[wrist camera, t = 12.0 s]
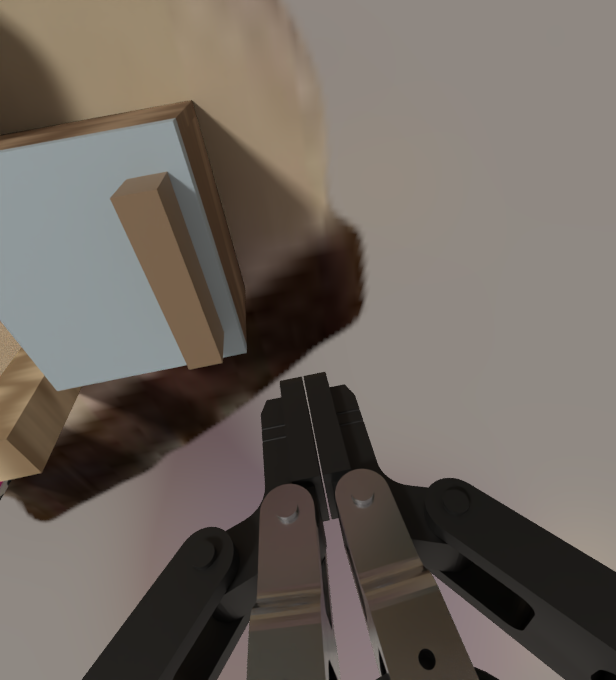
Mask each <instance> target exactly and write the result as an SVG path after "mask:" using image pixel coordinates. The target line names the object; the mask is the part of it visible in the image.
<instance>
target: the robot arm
mask: <svg viewBox="0 0 616 680" xmlns="http://www.w3.org/2000/svg"><path fill="white" fill-rule="evenodd" d="M304 381H305V387H306V392H307V397H308V402H309V407H310V412H311V417H312V423H313V428H314V433H315V438H316V443H317V448H318V454H319V459H320V464H321V469H322V474H323V479H324V483H325V488H326V493H327V498H328V503H329V507H330V512H331V517H332V519H336V518H339V522H340V527H341V531H342V536H343V541H344V547H345V550H346V554H347V557H348V561H349V565H350V568H351V572H352V575H353V579H354V582H355V586H356V589H357V593H358V596H359V600H360V603H361V607H362V610H363V614H364V617H365V621H366V625H367V628H368V632H369V637H370V641H371V645H372V648H373V652H374V656H375V659H376V663H377V666H378V670H379V673H380V677H379V678H378V679H376V680H499V679H497V678H495V677H494V676H492V675H490V674H488V673H487V672H485V671H483V670H480V669H478V668H476V667H473V664H472V662H471V660H470V658H469V655H468V653H467V651H466V649H465V646H464V644H463V642H462V639H461V637H460V635H459V633H458V630H457V628H456V626H455V624H454V621H453V619H452V617H451V614H450V612H449V610H448V608H447V605H446V603H445V601H444V599H443V596H442V594H441V592H440V590H439V587H438V585H437V583H436V581H435V579H434V577H433V576H432V574H433V575H435V576H436V577H437V578H438V579H440V580H441V581H442V582H443V583H445V584H446V585H447V586H448V587H450V588H451V589H452V590H453V591H455V592H456V593H457V594H458V595H460V596H461V597H462V598H464V599H465V600H466V601H467V602H468V603H470V604H471V605H472V606H474V607H475V608H476V609H477V610H479V611H480V612H481V613H482V614H483V615H485V616H486V617H487V618H488V619H490V620H491V621H492V622H493V623H495V624H496V625H497V626H499V627H500V628H501V629H502V630H504V631H505V632H506V633H507V634H509V635H510V636H511V637H512V638H514V639H515V640H516V641H517V642H519V643H520V644H521V645H522V646H524V647H525V648H526V649H527V650H529V651H530V652H531V653H532V654H534V655H535V656H536V657H537V658H539V659H540V660H541V661H542V662H544V663H545V664H546V665H547V666H549V667H550V668H551V669H552V670H554V671H555V672H556V673H557V674H559V675H560V676H561V677H562V678H564V679H565V680H616V572H615V571H613V570H611V569H610V568H608V567H607V566H605V565H603V564H602V563H600V562H598V561H597V560H595V559H593V558H592V557H590V556H588V555H587V554H585V553H583V552H582V551H580V550H578V549H577V548H575V547H573V546H572V545H570V544H568V543H567V542H565V541H563V540H562V539H560V538H558V537H557V536H555V535H553V534H552V533H550V532H548V531H547V530H545V529H543V528H542V527H540V526H538V525H537V524H535V523H533V522H532V521H530V520H528V519H527V518H525V517H523V516H522V515H520V514H518V513H517V512H515V511H514V510H512V509H510V508H509V507H507V506H505V505H504V504H502V503H500V502H498V501H497V500H495V499H494V498H492V497H490V496H489V495H487V494H485V493H484V492H482V491H480V490H479V489H477V488H475V487H474V486H472V485H470V484H469V483H467V482H464V481H462V480H459V479H455V478H444V479H440V480H438V481H436V482H434V483H433V484H431V486H430V487H429V488H427V487H418V486H409V485H403V484H400V483H397V482H395V481H393V480H391V479H390V478H388V477H387V476H386V475H385V474H384V473H383V472H382V471H381V469H380V467H379V466H378V463H377V460H376V457H375V455H374V451H373V448H372V445H371V442H370V439H369V436H368V433H367V431H366V427H365V424H364V422H363V418H362V415H361V412H360V410H359V406H358V403H357V400H356V397H355V395H354V394H353V393H352V392H351V391H350V390H349V389H348V388H347V386H346V385H340V386H334V387H329V384H328V381H327V376H326V373H325V372H322V373H317V374H312V375H307V376H304ZM280 388H281V398H276V399H272V400H267V401H266V403H265V406H264V408H263V411H262V413H261V423H262V440H263V459H264V476H265V493H264V497H263V500H262V502H261V504H260V506H259V507H258V509H257V510H256V511H255V512H254V513H253V514H252V515H251V516H250V517H249V518H247V519H246V520H244V521H242V522H241V523H239V524H237V525H235V526H234V527H232V528H230V529H228V530H227V531H224V530H222V529H220V528H217V527H207V528H204V529H201V530H199V531H197V532H195V533H194V534H192V535H191V536H190V537H189V538H188V539H187V540H186V541H185V542H184V543H183V545H182V546H181V548H180V549H179V550H178V552H177V553H176V554H175V555H174V557H173V558H172V560H171V561H170V562H169V564H168V565H167V566H166V568H165V569H164V570H163V572H162V573H161V574H160V576H159V577H158V578H157V580H156V581H155V582H154V584H153V585H152V586H151V588H150V589H149V590H148V592H147V593H146V595H145V596H144V597H143V598H142V600H141V601H140V602H139V604H138V605H137V607H136V608H135V609H134V610H133V612H132V613H131V615H130V616H129V617H128V618H127V620H126V621H125V623H124V624H123V625H122V626H121V628H120V629H119V631H118V632H117V633H116V634H115V636H114V637H113V639H112V640H111V641H110V643H109V644H108V645H107V647H106V648H105V649H104V651H103V652H102V653H101V655H100V656H99V657H98V659H97V660H96V661H95V663H94V664H93V665H92V667H91V668H90V669H89V671H88V672H87V673H86V675H85V676H84V677H83V679H82V680H217V679H218V677H219V675H220V673H221V671H222V669H223V668H224V666H225V664H226V662H227V661H228V659H229V657H230V655H231V653H232V651H233V650H234V648H235V646H236V644H237V642H238V641H239V639H240V637H241V635H242V634H243V632H244V630H245V628H246V626H247V624H248V623H249V636H248V637H249V638H248V659H247V680H340V671H339V662H338V653H337V646H336V639H335V633H334V625H333V615H332V606H331V595H330V585H329V575H328V564H327V554H326V547H327V545H326V537H325V532H324V526H323V521H328V520H329V514H328V509H327V503H326V498H325V493H324V488H323V483H322V477H321V472H320V466H319V461H318V456H317V451H316V445H315V440H314V435H313V430H312V424H311V419H310V414H309V409H308V405H307V400H306V395H305V390H304V386H303V381H302V377H298V378H292V379H287V380H283V381H280ZM431 573H432V574H431ZM249 621H250V622H249Z"/></svg>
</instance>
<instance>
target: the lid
mask: <svg viewBox="0 0 616 680" xmlns="http://www.w3.org/2000/svg"><path fill="white" fill-rule="evenodd" d="M0 321H1V322H2V323H3V325H4V326H5V327H6V328H7V329H8V331H9V332H10V333H11V334H12V336H13V337H14V338H15V339H16V341H17V342H18V343H19V344H20V346H21V347H22V348H23V349H24V351H25V352H26V353H27V354H28V356H29V357H30V358H31V359H32V361H33V362H34V363H35V364H36V366H37V367H38V368H39V369H40V371H41V372H42V373H43V374H44V376H45V377H46V378H47V379H48V381H49V382H50V383H51V384H52V385H53V387H54V388H55V389H56V390H57V391H61V390H66V389H71V388H75V387H80V386H85V385H90V384H95V383H100V382H105V381H110V380H115V379H120V378H125V377H130V376H135V375H140V374H145V373H150V372H154V371H159V370H164V369H169V368H174V367H179V366H184V365H187V366H188V368H189V370H190V369H195V368H200V367H205V366H210V365H215V364H220V363H223V358H224V357H229V356H233V355H238V354H243V353H247V344H246V341H245V338H244V334H243V331H242V328H241V325H240V322H239V318H238V315H237V312H236V309H235V306H234V302H233V299H232V296H231V293H230V290H229V287H228V283H227V280H226V277H225V274H224V271H223V267H222V264H221V261H220V258H219V255H218V251H217V248H216V245H215V242H214V239H213V236H212V232H211V229H210V226H209V223H208V220H207V216H206V213H205V210H204V207H203V204H202V200H201V197H200V194H199V191H198V188H197V185H196V181H195V178H194V175H193V172H192V169H191V165H190V162H189V159H188V156H187V153H186V150H185V146H184V143H183V140H182V137H181V134H180V130H179V127H178V124H177V121H176V118H173V119H167V120H162V121H156V122H151V123H146V124H140V125H135V126H129V127H124V128H118V129H113V130H108V131H102V132H97V133H91V134H86V135H80V136H75V137H70V138H64V139H59V140H53V141H48V142H42V143H37V144H32V145H26V146H21V147H15V148H10V149H4V150H0Z"/></svg>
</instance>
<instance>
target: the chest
mask: <svg viewBox="0 0 616 680" xmlns="http://www.w3.org/2000/svg"><path fill="white" fill-rule="evenodd" d="M173 118H176V121H177V124H178V127H179V130H180V134H181V137H182V140H183V143H184V146H185V150H186V153H187V156H188V159H189V162H190V165H191V169H192V172H193V175H194V178H195V181H196V185H197V188H198V191H199V194H200V197H201V200H202V204H203V207H204V210H205V213H206V216H207V220H208V223H209V226H210V229H211V232H212V236H213V239H214V242H215V245H216V248H217V251H218V255H219V258H220V261H221V264H222V267H223V271H224V274H225V277H226V280H227V283H228V287H229V290H230V293H231V296H232V299H233V302H234V306H235V309H236V312H237V315H238V318H239V322H240V325H241V328H242V331H243V334H244V338H245V341H246V307H245V286H244V282H243V279H242V275H241V272H240V268H239V265H238V261H237V258H236V254H235V251H234V247H233V244H232V240H231V236H230V233H229V229H228V226H227V222H226V219H225V215H224V212H223V208H222V205H221V201H220V198H219V194H218V190H217V187H216V183H215V180H214V176H213V173H212V169H211V166H210V162H209V159H208V155H207V152H206V148H205V145H204V141H203V137H202V134H201V130H200V127H199V123H198V120H197V116H196V113H195V109H194V106H193V102H192V100H191V101H185V102H180V103H174V104H169V105H163V106H158V107H152V108H147V109H141V110H136V111H130V112H125V113H119V114H114V115H109V116H103V117H98V118H92V119H87V120H81V121H76V122H70V123H65V124H59V125H54V126H48V127H43V128H37V129H32V130H27V131H21V132H16V133H10V134H5V135H0V150H4V149H10V148H15V147H21V146H26V145H32V144H37V143H42V142H48V141H53V140H59V139H64V138H70V137H75V136H80V135H86V134H91V133H97V132H102V131H108V130H113V129H118V128H124V127H129V126H135V125H140V124H146V123H151V122H156V121H162V120H167V119H173Z"/></svg>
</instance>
